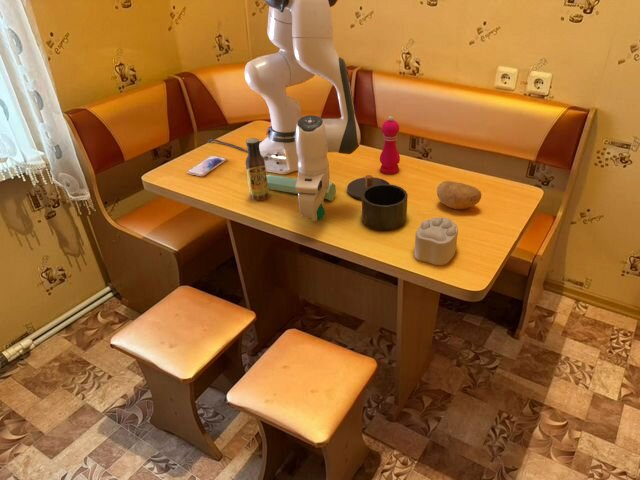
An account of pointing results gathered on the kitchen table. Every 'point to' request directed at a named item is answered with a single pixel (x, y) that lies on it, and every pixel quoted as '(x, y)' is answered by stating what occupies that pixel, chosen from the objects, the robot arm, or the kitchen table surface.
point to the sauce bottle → (256, 171)
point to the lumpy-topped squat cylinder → (436, 241)
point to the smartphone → (206, 166)
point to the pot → (384, 207)
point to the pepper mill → (390, 147)
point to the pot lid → (363, 185)
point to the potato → (458, 195)
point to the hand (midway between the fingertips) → (317, 214)
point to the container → (293, 185)
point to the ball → (320, 212)
